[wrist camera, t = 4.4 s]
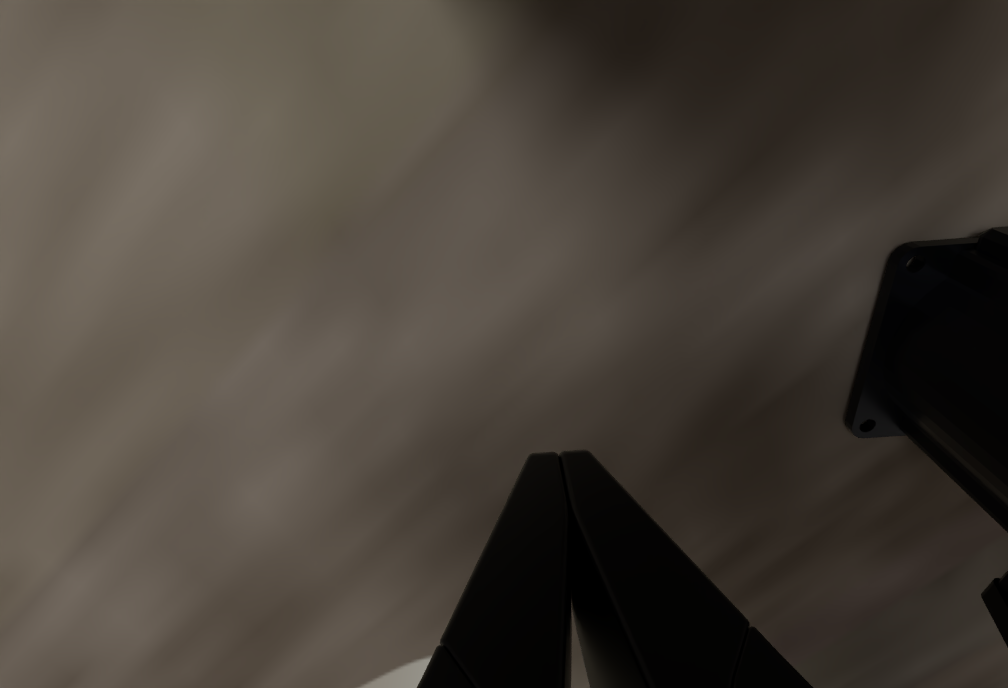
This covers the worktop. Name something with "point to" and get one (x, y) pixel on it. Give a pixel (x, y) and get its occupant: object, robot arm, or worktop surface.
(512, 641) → the robot arm
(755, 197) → the worktop surface
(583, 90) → the worktop surface
